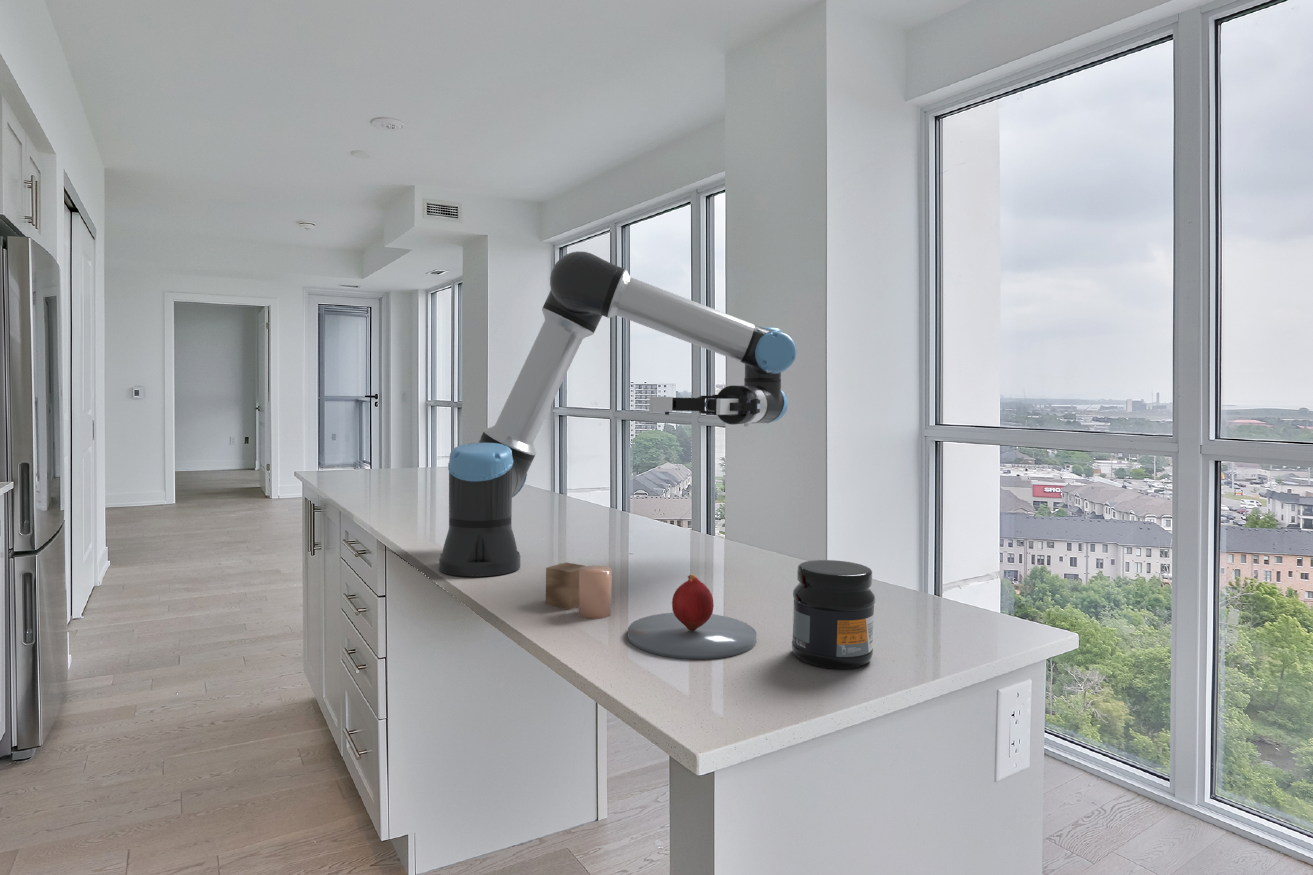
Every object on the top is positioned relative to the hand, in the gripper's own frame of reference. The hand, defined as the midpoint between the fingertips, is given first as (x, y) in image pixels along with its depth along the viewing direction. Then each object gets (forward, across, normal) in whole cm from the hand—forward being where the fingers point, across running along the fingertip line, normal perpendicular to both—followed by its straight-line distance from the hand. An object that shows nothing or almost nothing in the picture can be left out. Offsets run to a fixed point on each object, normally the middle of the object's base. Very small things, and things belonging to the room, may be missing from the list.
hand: (683, 405), depth 137 cm
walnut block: (+20, +9, -32) cm, 39 cm away
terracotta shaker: (+22, +2, -32) cm, 39 cm away
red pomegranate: (+23, -16, -31) cm, 42 cm away
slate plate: (+23, -16, -32) cm, 42 cm away
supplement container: (+19, -35, -32) cm, 51 cm away
